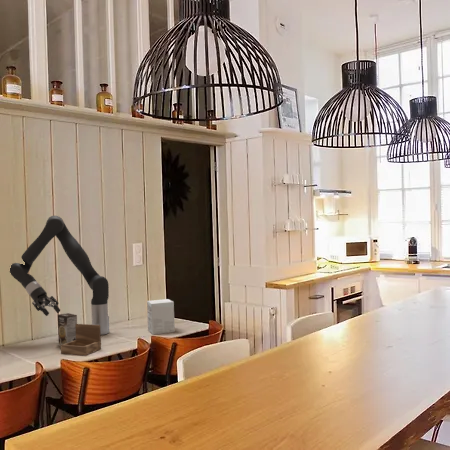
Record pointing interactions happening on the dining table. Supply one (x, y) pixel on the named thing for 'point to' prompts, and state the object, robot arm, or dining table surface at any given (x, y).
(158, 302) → the supplement box
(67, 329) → the coffee box
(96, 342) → the open walnut box
